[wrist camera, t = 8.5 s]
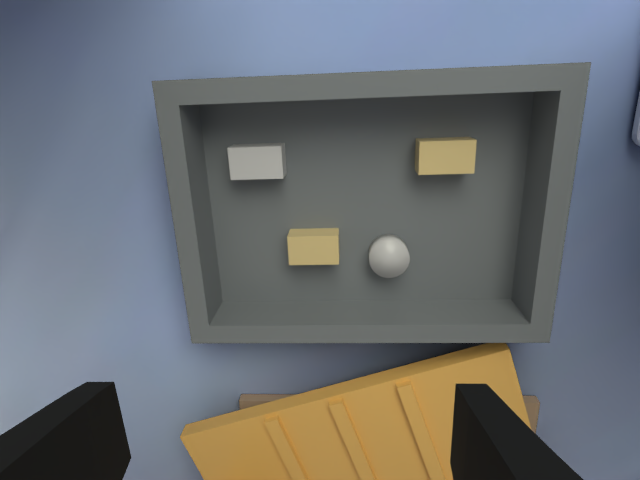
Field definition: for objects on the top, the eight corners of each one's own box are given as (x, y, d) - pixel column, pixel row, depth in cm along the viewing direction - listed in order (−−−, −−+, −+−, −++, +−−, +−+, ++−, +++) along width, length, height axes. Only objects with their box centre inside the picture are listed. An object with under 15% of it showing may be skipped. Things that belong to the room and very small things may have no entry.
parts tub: (554, 65, 16) (591, 62, 14) (524, 310, 20) (549, 342, 17) (179, 81, 17) (151, 80, 15) (210, 312, 21) (191, 343, 18)
